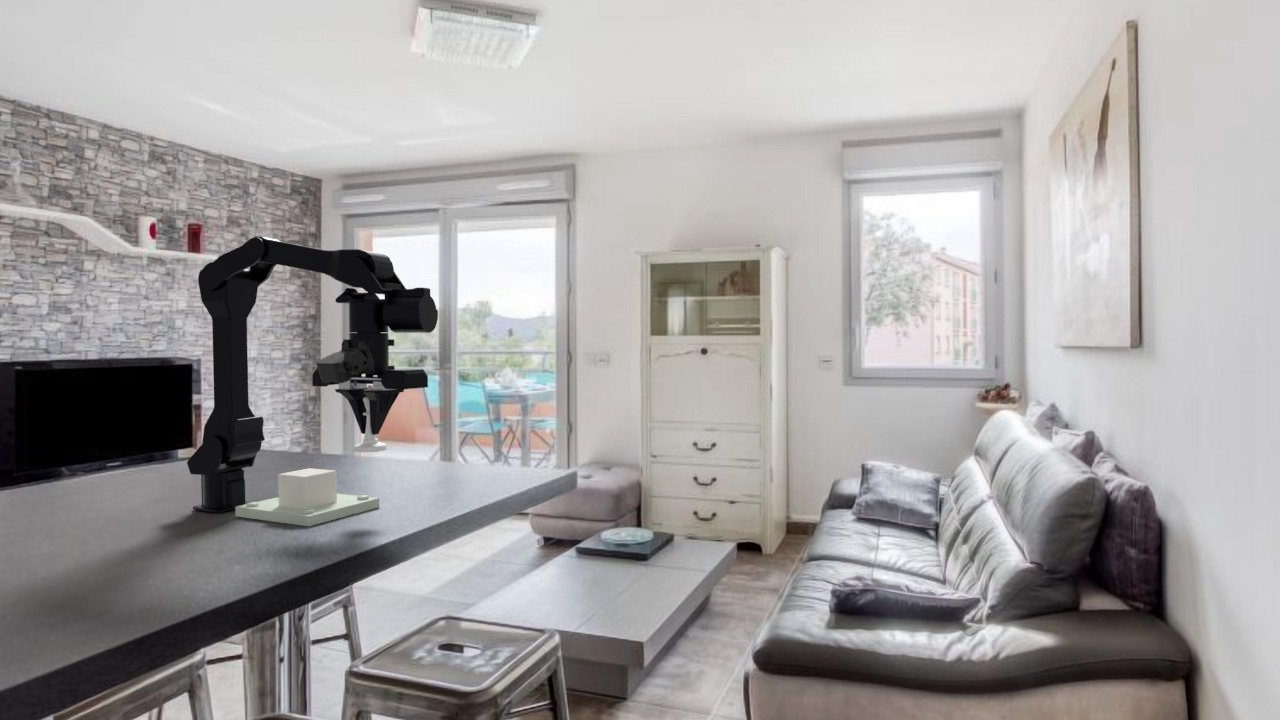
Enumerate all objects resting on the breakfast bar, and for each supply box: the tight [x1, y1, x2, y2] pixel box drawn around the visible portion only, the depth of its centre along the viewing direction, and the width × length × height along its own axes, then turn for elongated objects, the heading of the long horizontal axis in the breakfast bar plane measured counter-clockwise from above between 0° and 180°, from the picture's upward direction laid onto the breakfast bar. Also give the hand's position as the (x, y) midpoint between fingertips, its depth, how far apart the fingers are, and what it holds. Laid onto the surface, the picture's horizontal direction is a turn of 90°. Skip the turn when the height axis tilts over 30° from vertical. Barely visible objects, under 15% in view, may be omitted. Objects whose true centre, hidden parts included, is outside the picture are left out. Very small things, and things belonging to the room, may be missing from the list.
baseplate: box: [234, 493, 380, 527], centre depth 123 cm, size 16×14×2 cm
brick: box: [277, 467, 338, 509], centre depth 122 cm, size 6×6×5 cm
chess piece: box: [353, 384, 388, 453], centre depth 120 cm, size 5×5×10 cm
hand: (370, 433), depth 120 cm, fingers closed on chess piece
